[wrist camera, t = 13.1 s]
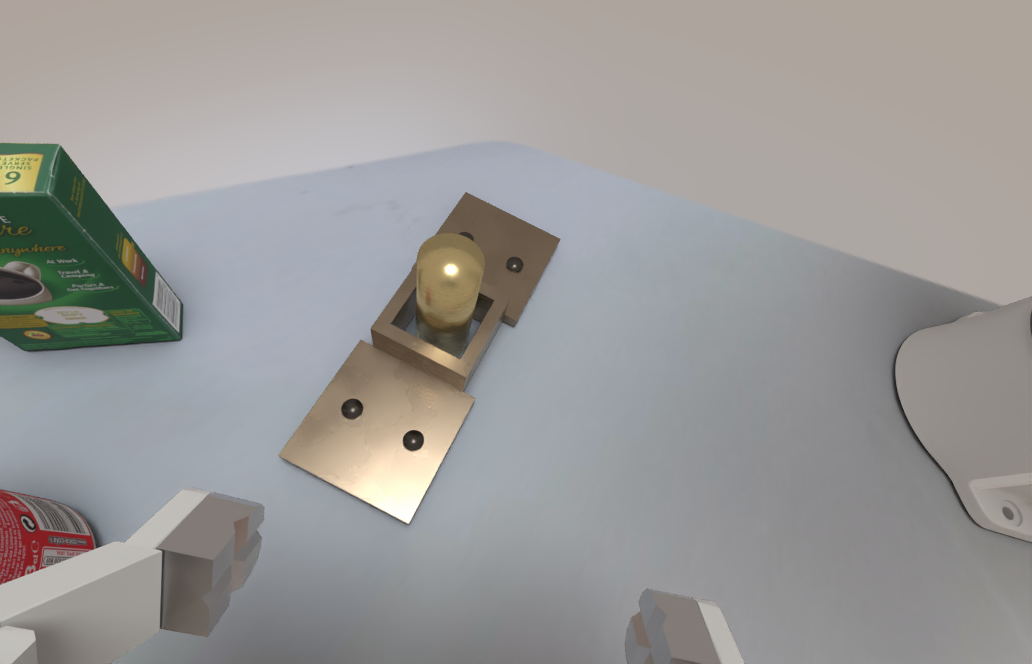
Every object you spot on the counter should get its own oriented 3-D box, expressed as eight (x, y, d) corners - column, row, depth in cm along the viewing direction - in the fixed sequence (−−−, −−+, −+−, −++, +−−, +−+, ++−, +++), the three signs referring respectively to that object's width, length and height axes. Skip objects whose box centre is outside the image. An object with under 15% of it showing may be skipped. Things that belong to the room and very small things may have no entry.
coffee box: (192, 300, 31) (60, 134, 19) (188, 342, 30) (44, 192, 18) (36, 309, 29) (-216, 130, 17) (25, 354, 28) (-254, 195, 16)
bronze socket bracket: (556, 246, 38) (569, 217, 35) (408, 525, 27) (408, 518, 24) (464, 201, 38) (469, 168, 35) (282, 459, 28) (266, 444, 25)
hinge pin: (475, 328, 34) (496, 252, 26) (452, 369, 32) (465, 300, 24) (431, 306, 34) (437, 222, 26) (406, 345, 32) (404, 269, 24)
